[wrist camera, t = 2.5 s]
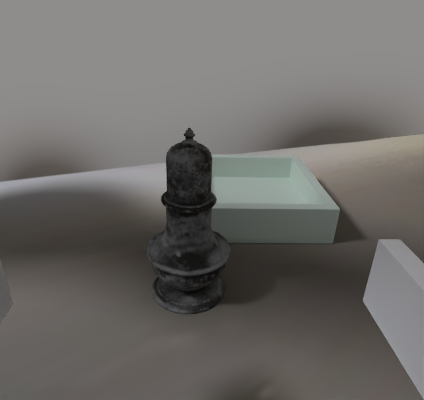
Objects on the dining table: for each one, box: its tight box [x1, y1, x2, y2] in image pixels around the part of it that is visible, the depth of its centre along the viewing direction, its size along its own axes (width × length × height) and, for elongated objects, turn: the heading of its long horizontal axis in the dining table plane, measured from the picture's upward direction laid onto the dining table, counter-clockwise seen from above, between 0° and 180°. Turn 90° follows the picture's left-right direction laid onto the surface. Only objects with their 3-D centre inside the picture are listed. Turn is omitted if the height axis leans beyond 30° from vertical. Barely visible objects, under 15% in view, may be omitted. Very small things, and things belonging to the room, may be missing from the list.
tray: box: [211, 154, 340, 244], centre depth 37 cm, size 14×14×4 cm
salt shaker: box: [146, 128, 231, 314], centre depth 24 cm, size 6×6×12 cm
